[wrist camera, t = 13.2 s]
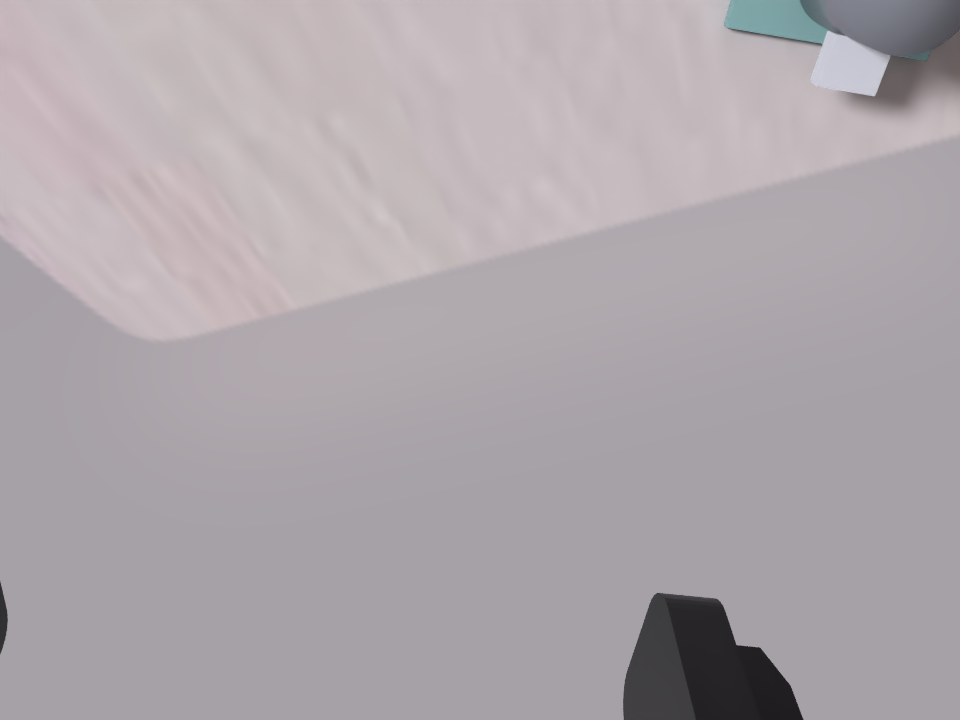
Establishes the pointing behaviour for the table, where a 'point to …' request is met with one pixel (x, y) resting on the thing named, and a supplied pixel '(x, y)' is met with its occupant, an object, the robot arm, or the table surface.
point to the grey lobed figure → (875, 37)
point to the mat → (780, 21)
